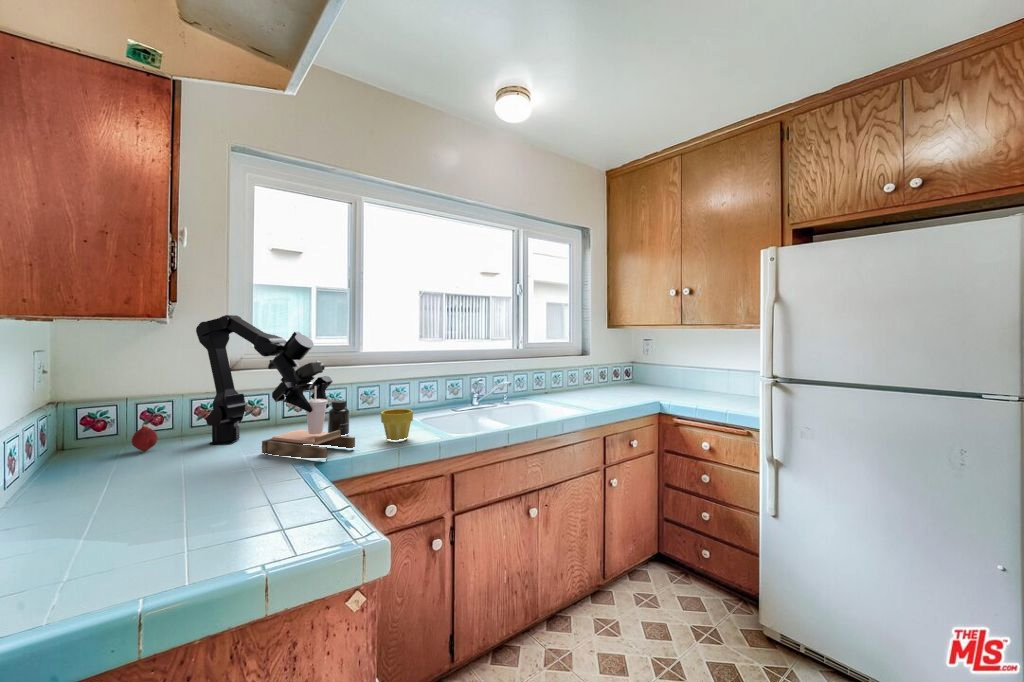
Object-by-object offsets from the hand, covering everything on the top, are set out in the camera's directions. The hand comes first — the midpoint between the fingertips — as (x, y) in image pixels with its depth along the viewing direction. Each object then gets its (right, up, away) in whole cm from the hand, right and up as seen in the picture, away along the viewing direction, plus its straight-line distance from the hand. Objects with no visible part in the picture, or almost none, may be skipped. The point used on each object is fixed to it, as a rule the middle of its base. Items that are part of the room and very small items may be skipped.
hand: (319, 409), depth 126 cm
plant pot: (+18, -13, +17) cm, 28 cm away
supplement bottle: (-3, -13, +22) cm, 25 cm away
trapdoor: (-5, -12, +2) cm, 13 cm away
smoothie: (-2, -7, +1) cm, 7 cm away
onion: (-52, -13, 0) cm, 53 cm away
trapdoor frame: (-4, -13, +2) cm, 14 cm away
